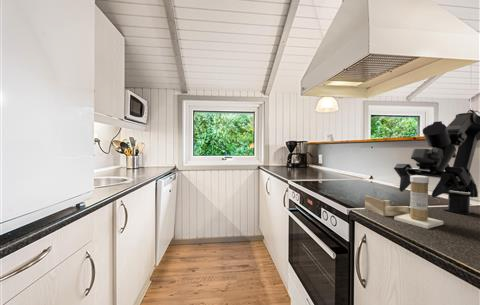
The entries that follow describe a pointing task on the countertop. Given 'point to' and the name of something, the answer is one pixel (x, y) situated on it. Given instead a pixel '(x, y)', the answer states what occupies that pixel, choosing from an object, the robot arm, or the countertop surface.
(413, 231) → the countertop surface
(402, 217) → the cream tile
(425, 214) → the sprinkles bottle
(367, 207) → the bottle holder
